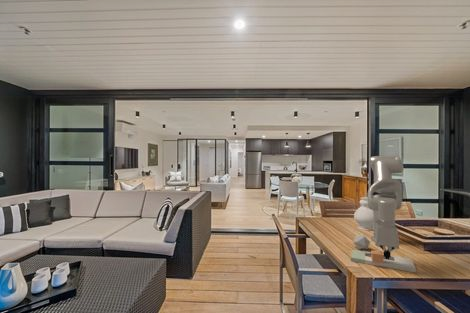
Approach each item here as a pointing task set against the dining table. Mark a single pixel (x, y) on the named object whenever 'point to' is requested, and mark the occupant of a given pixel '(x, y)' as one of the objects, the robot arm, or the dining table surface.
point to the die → (361, 242)
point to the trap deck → (384, 261)
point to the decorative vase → (364, 215)
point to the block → (377, 256)
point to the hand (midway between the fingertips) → (387, 258)
